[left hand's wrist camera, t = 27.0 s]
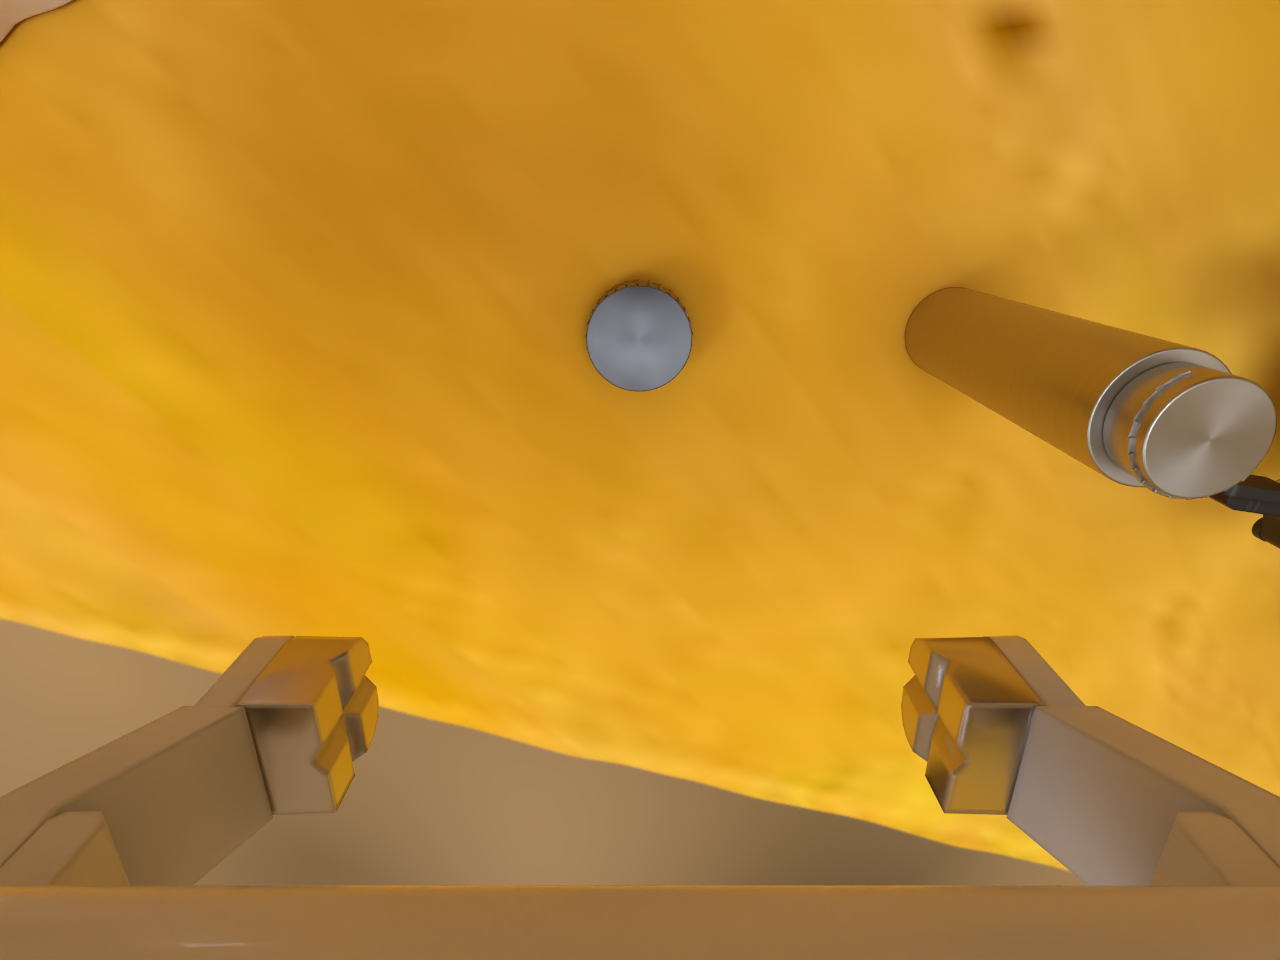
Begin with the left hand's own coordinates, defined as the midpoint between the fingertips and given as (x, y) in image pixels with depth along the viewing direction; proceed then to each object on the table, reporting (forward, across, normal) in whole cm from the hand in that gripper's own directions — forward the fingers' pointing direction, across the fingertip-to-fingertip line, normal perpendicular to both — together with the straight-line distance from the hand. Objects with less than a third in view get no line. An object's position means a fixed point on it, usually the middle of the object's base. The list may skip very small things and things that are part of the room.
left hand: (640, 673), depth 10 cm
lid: (+28, 0, 0) cm, 28 cm away
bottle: (+30, +17, 0) cm, 34 cm away
